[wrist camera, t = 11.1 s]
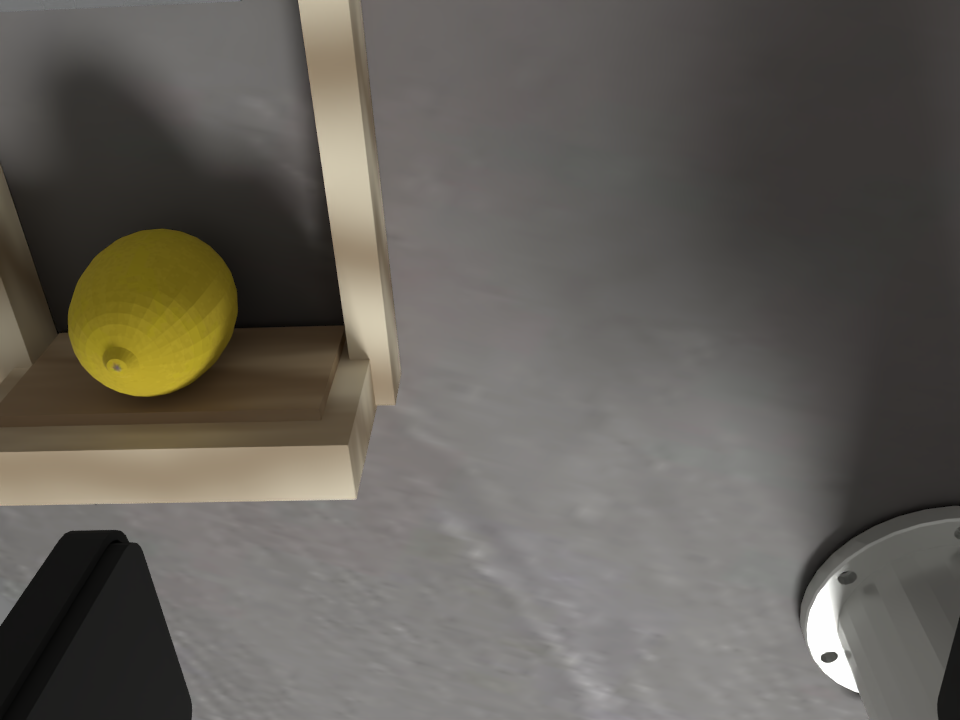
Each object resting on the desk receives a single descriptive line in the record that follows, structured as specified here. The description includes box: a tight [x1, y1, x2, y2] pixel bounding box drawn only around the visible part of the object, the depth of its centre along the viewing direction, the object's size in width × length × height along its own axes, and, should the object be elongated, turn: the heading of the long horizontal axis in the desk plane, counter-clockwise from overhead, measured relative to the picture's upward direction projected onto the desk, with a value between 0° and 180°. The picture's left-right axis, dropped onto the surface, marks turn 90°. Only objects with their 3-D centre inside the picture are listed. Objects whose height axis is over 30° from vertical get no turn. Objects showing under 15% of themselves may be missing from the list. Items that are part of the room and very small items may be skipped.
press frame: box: [0, 0, 401, 506], centre depth 29 cm, size 26×16×8 cm, turn 3°
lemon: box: [68, 229, 238, 397], centre depth 33 cm, size 6×6×8 cm
